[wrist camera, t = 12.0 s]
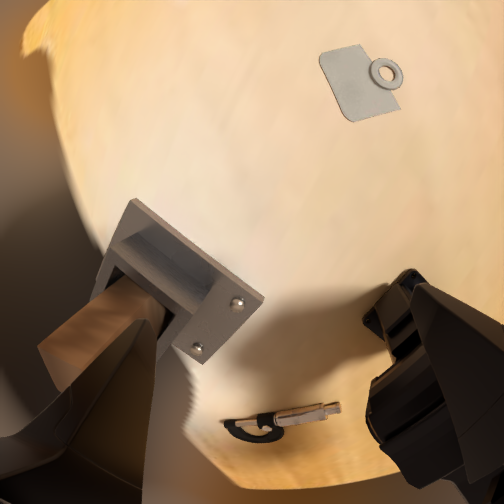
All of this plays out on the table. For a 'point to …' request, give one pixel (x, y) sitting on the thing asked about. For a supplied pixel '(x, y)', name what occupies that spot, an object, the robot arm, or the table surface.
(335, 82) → the mounting bracket
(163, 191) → the table surface
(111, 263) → the cup bracket
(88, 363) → the rail post
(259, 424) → the micrometer
